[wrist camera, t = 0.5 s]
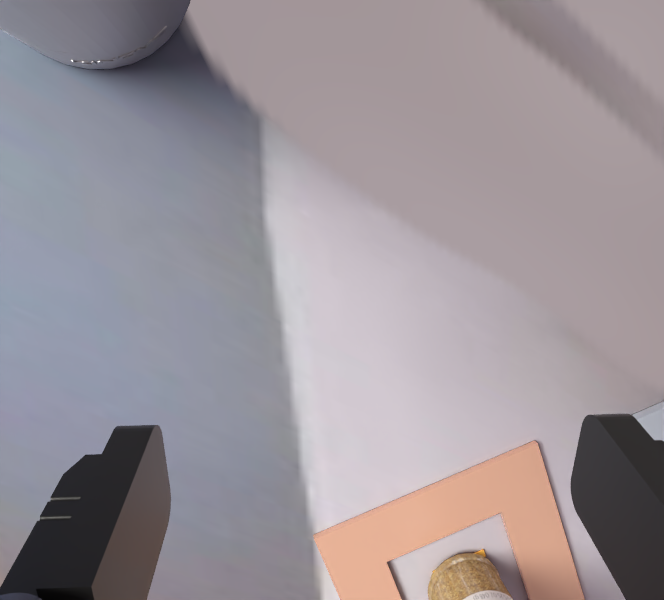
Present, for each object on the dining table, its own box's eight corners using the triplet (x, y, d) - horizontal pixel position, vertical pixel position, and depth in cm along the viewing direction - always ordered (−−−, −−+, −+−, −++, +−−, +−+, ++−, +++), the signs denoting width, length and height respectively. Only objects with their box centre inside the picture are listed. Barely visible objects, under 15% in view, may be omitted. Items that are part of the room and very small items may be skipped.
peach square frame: (313, 534, 34) (314, 539, 33) (534, 440, 35) (537, 443, 34) (390, 713, 37) (392, 718, 37) (589, 622, 38) (593, 627, 38)
